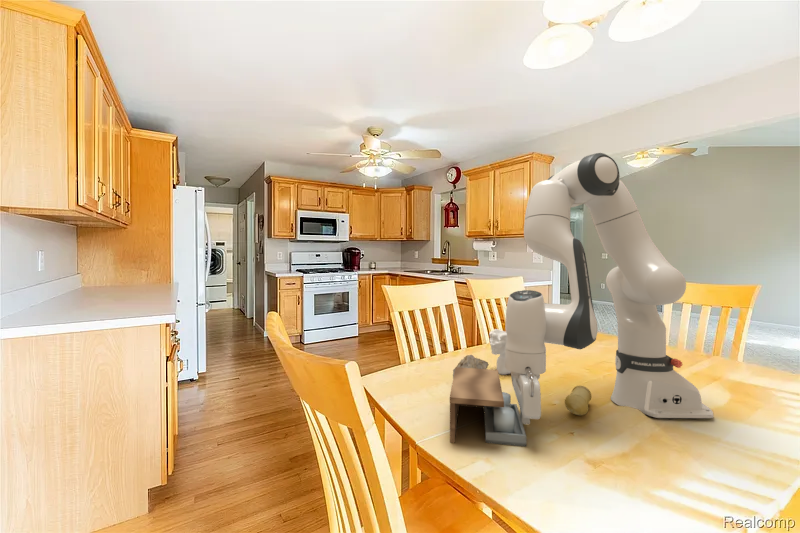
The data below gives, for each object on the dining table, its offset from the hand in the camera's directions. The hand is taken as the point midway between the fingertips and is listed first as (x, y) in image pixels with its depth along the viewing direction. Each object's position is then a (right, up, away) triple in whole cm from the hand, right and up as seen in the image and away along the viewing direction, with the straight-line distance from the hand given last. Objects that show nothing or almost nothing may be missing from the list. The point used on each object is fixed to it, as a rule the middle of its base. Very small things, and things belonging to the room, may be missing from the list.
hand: (525, 421), depth 83 cm
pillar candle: (-6, -1, -3) cm, 7 cm away
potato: (+17, -2, +10) cm, 20 cm away
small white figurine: (+6, -1, +40) cm, 41 cm away
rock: (-7, -2, +26) cm, 27 cm away
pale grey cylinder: (-4, -1, +6) cm, 7 cm away
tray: (-5, -2, +1) cm, 5 cm away
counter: (-11, -2, +2) cm, 11 cm away
